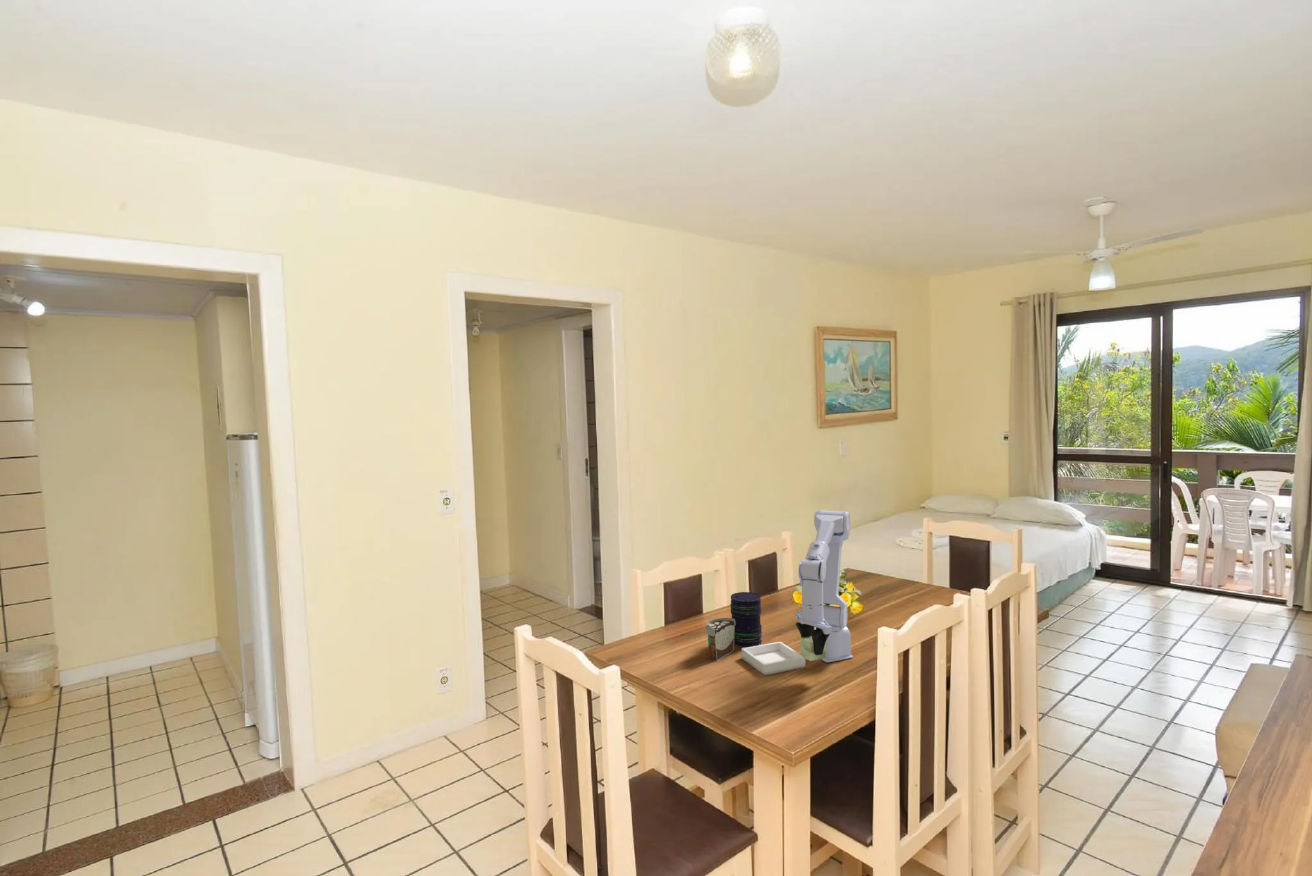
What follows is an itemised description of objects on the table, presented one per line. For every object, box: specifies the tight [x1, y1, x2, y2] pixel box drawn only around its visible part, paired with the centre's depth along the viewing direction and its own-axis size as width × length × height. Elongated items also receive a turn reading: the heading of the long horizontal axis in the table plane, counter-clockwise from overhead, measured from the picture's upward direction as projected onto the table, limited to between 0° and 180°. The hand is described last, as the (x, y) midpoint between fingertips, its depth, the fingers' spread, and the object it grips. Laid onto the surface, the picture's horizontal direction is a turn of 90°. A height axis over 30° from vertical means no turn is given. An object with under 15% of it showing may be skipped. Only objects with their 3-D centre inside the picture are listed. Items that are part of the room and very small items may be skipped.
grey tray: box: [741, 641, 806, 676], centre depth 193 cm, size 14×14×3 cm
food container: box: [704, 617, 736, 662], centre depth 200 cm, size 12×6×10 cm, turn 141°
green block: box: [800, 636, 826, 662], centre depth 180 cm, size 5×4×5 cm
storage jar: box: [730, 591, 763, 648], centre depth 209 cm, size 10×10×15 cm
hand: (813, 651), depth 180 cm, fingers closed on green block, 4 cm apart
